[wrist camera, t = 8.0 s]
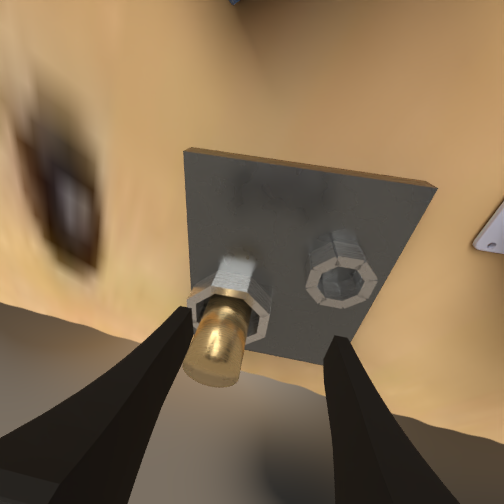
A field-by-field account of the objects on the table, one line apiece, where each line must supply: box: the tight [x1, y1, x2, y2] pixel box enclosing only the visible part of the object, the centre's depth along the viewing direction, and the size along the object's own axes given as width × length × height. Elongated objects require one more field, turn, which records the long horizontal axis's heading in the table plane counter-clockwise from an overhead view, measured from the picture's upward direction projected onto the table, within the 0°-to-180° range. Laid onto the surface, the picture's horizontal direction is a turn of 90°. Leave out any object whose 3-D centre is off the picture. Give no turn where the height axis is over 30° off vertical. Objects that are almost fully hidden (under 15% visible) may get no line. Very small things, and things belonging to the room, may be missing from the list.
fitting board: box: [183, 147, 438, 365], centre depth 20 cm, size 16×20×4 cm
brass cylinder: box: [183, 294, 252, 387], centre depth 19 cm, size 4×4×7 cm
